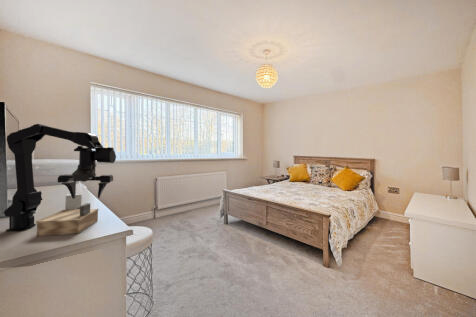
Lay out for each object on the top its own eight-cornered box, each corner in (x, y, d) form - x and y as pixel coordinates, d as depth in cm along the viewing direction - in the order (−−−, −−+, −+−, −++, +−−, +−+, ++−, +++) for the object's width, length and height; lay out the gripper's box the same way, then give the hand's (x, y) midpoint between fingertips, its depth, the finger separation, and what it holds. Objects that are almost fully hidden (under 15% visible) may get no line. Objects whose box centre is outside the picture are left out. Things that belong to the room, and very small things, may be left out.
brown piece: (36, 236, 78) (36, 223, 78) (63, 222, 94) (63, 211, 94) (78, 234, 81) (78, 221, 81) (97, 221, 97) (97, 210, 97)
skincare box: (64, 221, 95) (64, 195, 95) (66, 219, 99) (66, 194, 98) (81, 219, 98) (81, 194, 98) (82, 217, 102) (82, 192, 102)
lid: (36, 222, 78) (36, 210, 78) (63, 211, 94) (63, 201, 94) (78, 221, 81) (79, 209, 81) (98, 210, 97) (98, 200, 97)
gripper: (50, 162, 78) (49, 203, 78) (106, 163, 84) (105, 202, 84) (64, 161, 89) (64, 197, 89) (114, 162, 94) (113, 196, 95)
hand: (86, 198), depth 89 cm, fingers open, 9 cm apart
